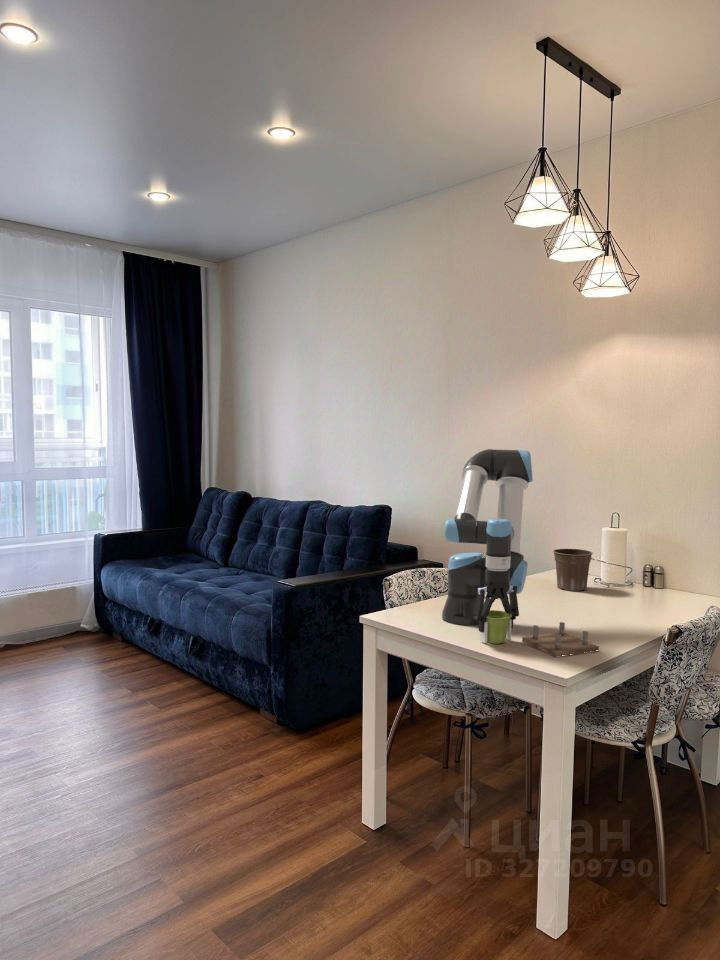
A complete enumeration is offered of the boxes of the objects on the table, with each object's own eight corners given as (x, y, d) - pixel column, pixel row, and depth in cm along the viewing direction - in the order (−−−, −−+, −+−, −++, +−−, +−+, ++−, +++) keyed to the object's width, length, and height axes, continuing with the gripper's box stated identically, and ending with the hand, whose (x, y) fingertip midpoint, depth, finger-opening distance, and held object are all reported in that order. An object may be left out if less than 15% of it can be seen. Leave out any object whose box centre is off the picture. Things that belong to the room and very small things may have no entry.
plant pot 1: (509, 647, 205) (510, 619, 205) (478, 644, 208) (479, 616, 207) (511, 638, 214) (512, 611, 214) (481, 635, 217) (482, 609, 216)
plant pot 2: (557, 592, 283) (558, 554, 282) (547, 583, 299) (549, 547, 298) (596, 593, 282) (597, 555, 281) (584, 584, 298) (586, 548, 297)
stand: (522, 641, 211) (522, 624, 211) (562, 636, 218) (563, 619, 217) (556, 657, 197) (557, 638, 196) (598, 651, 203) (599, 633, 203)
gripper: (476, 573, 202) (473, 647, 203) (533, 568, 210) (530, 640, 212) (462, 568, 208) (460, 640, 210) (518, 564, 217) (515, 633, 219)
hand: (495, 640), depth 211 cm, fingers closed on plant pot 1, 8 cm apart
